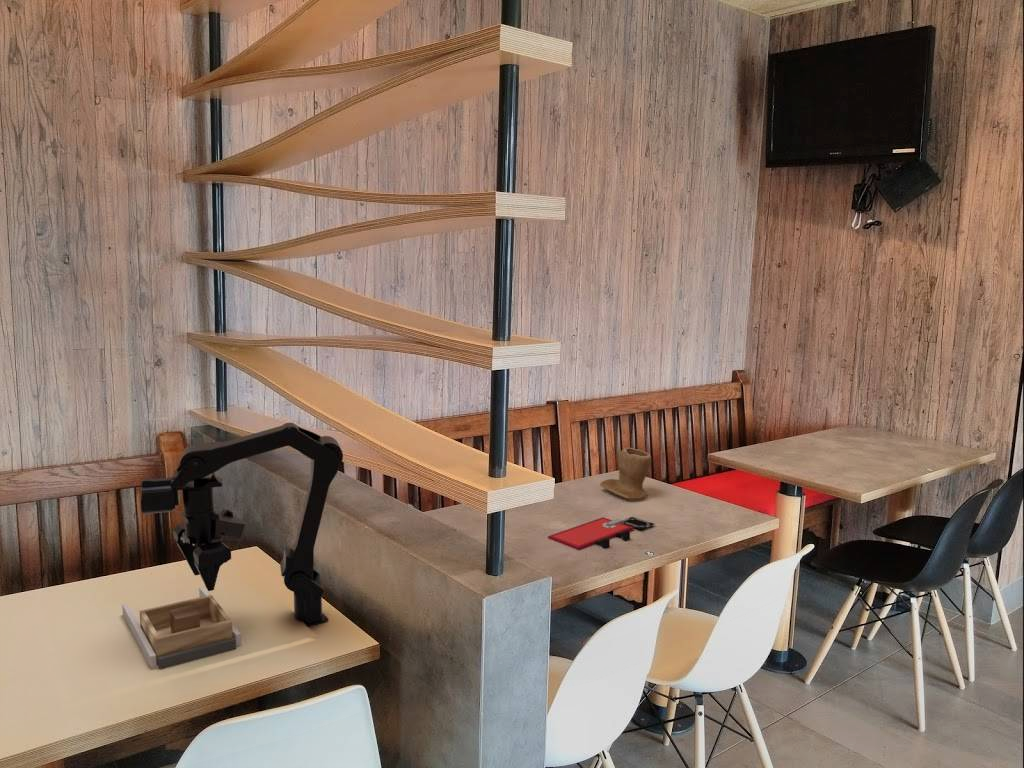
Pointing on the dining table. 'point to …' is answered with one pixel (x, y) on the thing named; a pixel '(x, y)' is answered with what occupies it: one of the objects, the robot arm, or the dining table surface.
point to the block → (184, 619)
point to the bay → (183, 655)
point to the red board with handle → (598, 532)
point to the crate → (164, 643)
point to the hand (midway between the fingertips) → (203, 582)
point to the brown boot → (630, 474)
